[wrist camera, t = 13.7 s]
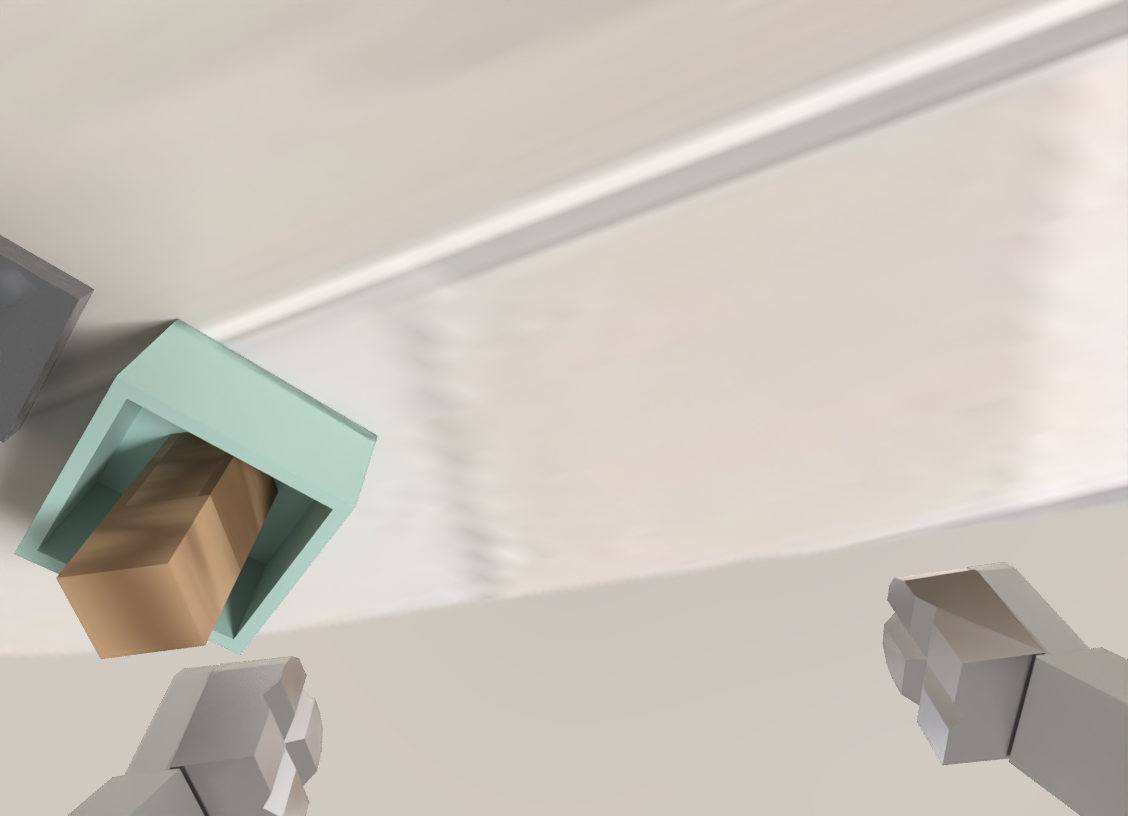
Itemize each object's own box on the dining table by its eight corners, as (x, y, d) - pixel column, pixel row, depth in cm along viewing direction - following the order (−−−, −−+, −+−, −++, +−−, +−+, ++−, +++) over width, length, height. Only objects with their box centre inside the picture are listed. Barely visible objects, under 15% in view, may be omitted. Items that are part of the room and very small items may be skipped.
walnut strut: (199, 502, 44) (100, 659, 33) (171, 433, 42) (56, 578, 31) (278, 492, 44) (205, 645, 33) (254, 423, 42) (167, 563, 31)
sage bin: (84, 476, 43) (14, 554, 37) (177, 318, 39) (116, 375, 33) (275, 570, 47) (240, 654, 41) (377, 436, 43) (355, 506, 37)
